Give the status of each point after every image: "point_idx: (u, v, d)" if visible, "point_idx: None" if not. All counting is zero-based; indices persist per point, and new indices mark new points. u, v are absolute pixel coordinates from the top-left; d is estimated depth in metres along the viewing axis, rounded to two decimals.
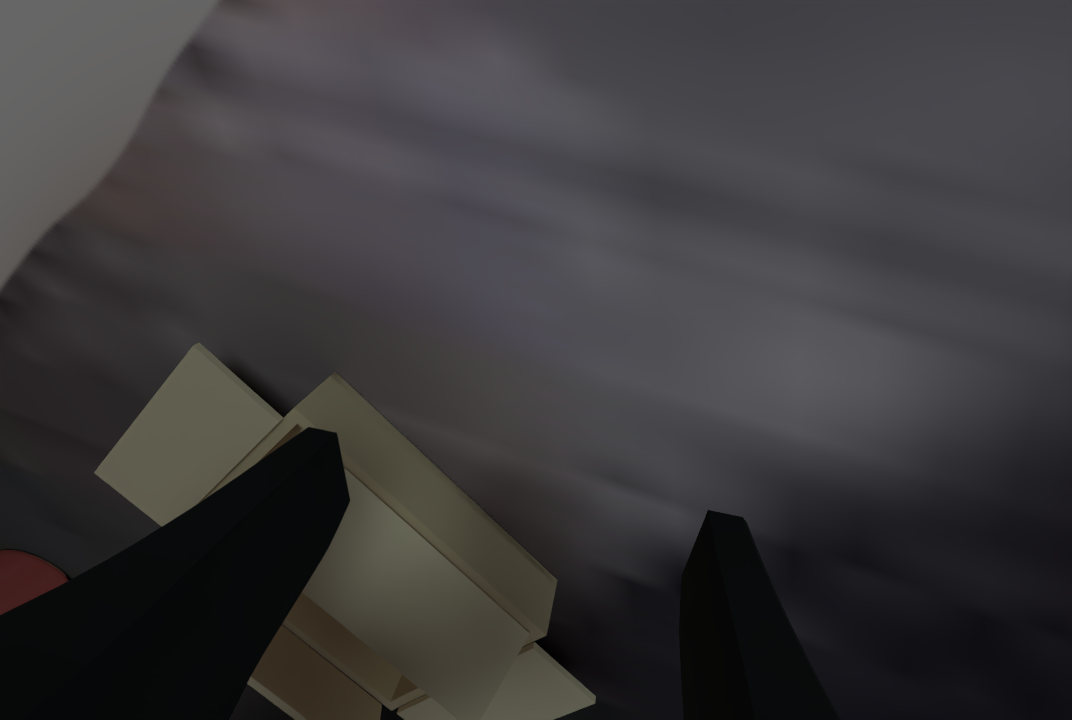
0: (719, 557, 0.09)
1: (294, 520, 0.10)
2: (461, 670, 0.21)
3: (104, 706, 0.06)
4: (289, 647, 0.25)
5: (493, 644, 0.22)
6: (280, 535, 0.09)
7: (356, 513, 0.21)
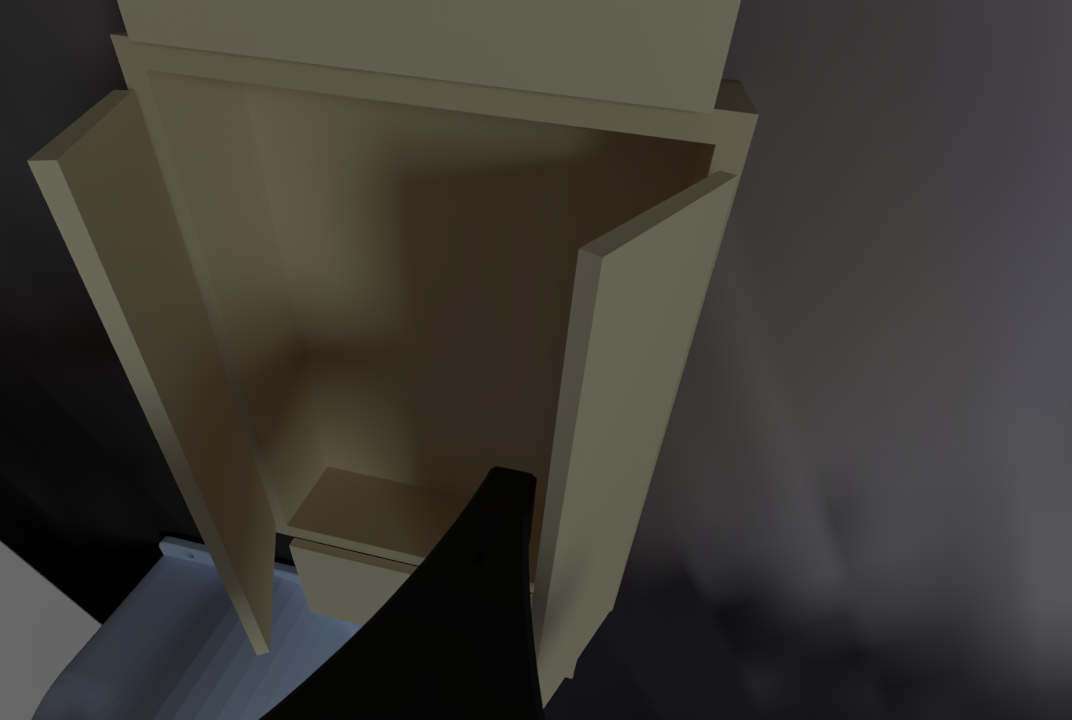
0: (485, 506, 0.09)
1: None
2: (565, 653, 0.13)
3: None
4: (225, 409, 0.13)
5: (593, 620, 0.14)
6: None
7: (661, 385, 0.10)
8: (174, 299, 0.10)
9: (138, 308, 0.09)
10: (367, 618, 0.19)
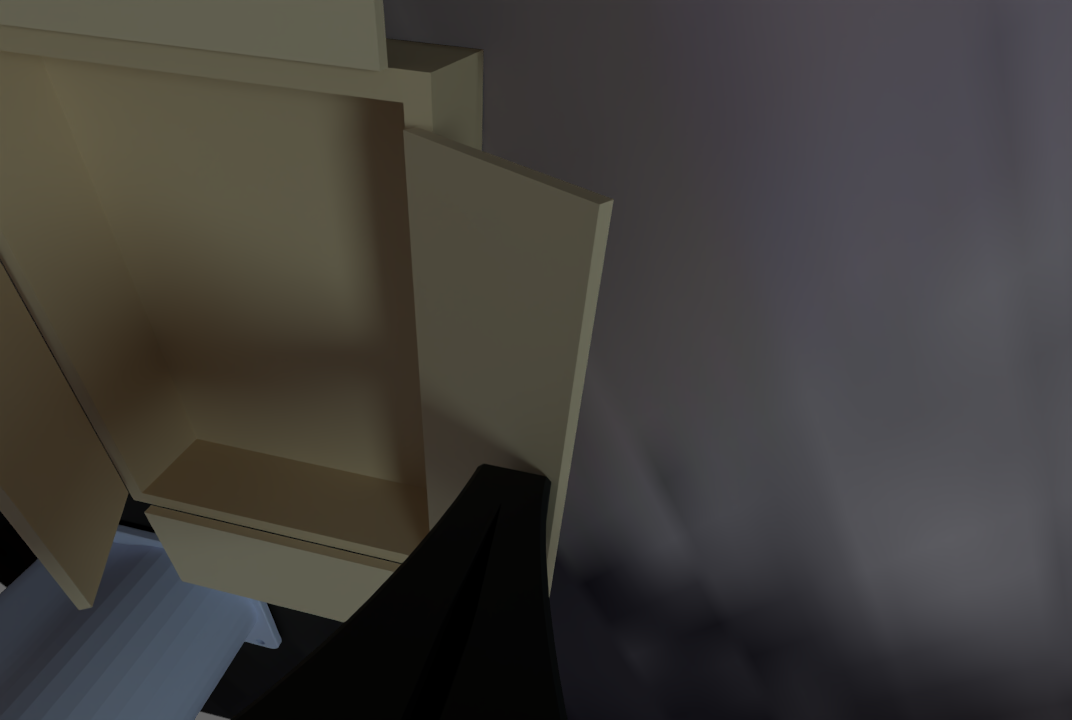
0: (501, 510, 0.09)
1: None
2: None
3: None
4: (34, 370, 0.14)
5: None
6: (479, 582, 0.09)
7: None
8: None
9: None
10: (233, 585, 0.20)
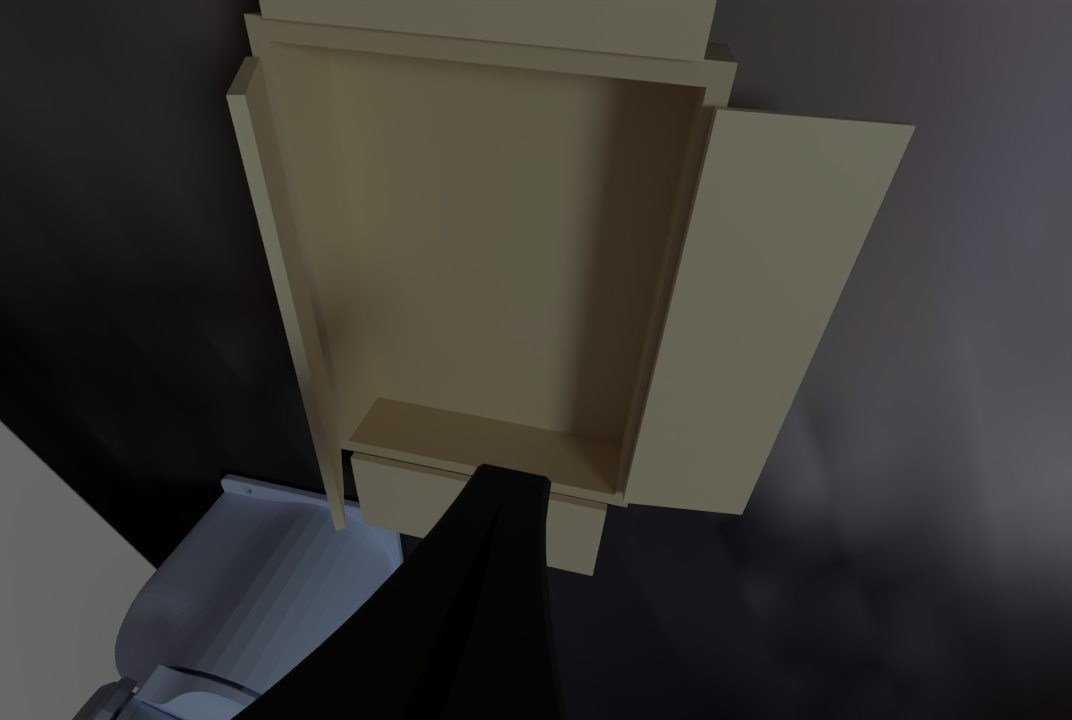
0: (501, 510, 0.09)
1: (487, 565, 0.09)
2: None
3: None
4: (312, 322, 0.16)
5: None
6: (479, 581, 0.09)
7: None
8: (287, 221, 0.13)
9: (276, 216, 0.12)
10: (414, 526, 0.22)
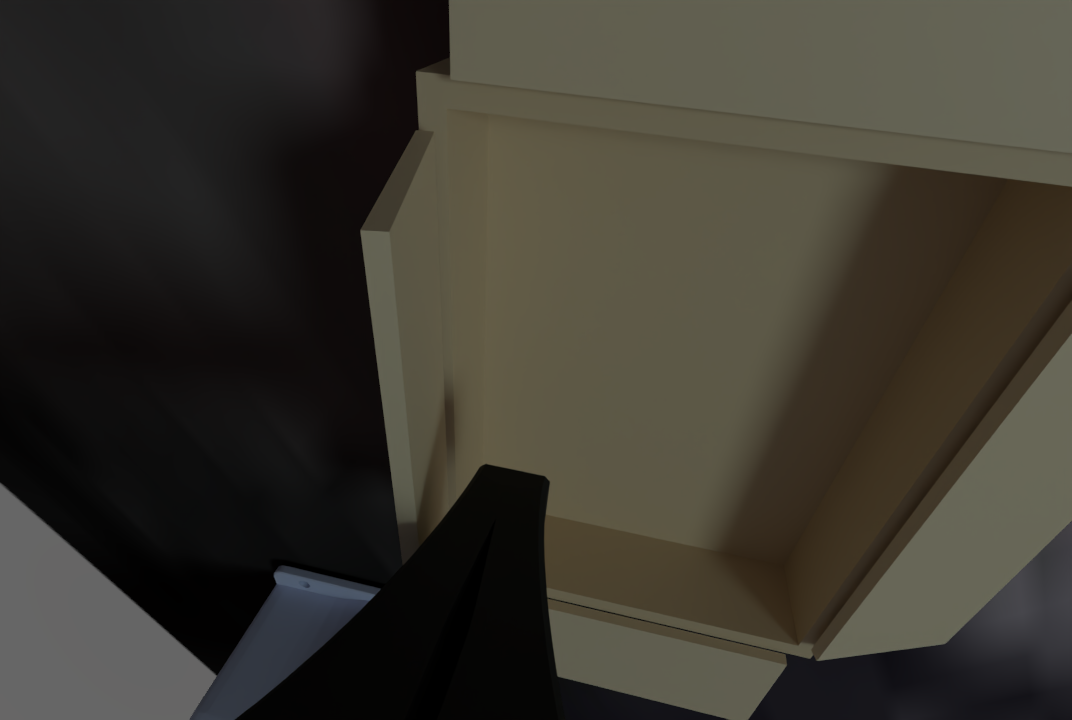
0: (500, 509, 0.09)
1: None
2: None
3: None
4: (441, 461, 0.12)
5: None
6: None
7: None
8: (430, 356, 0.10)
9: (412, 381, 0.08)
10: None
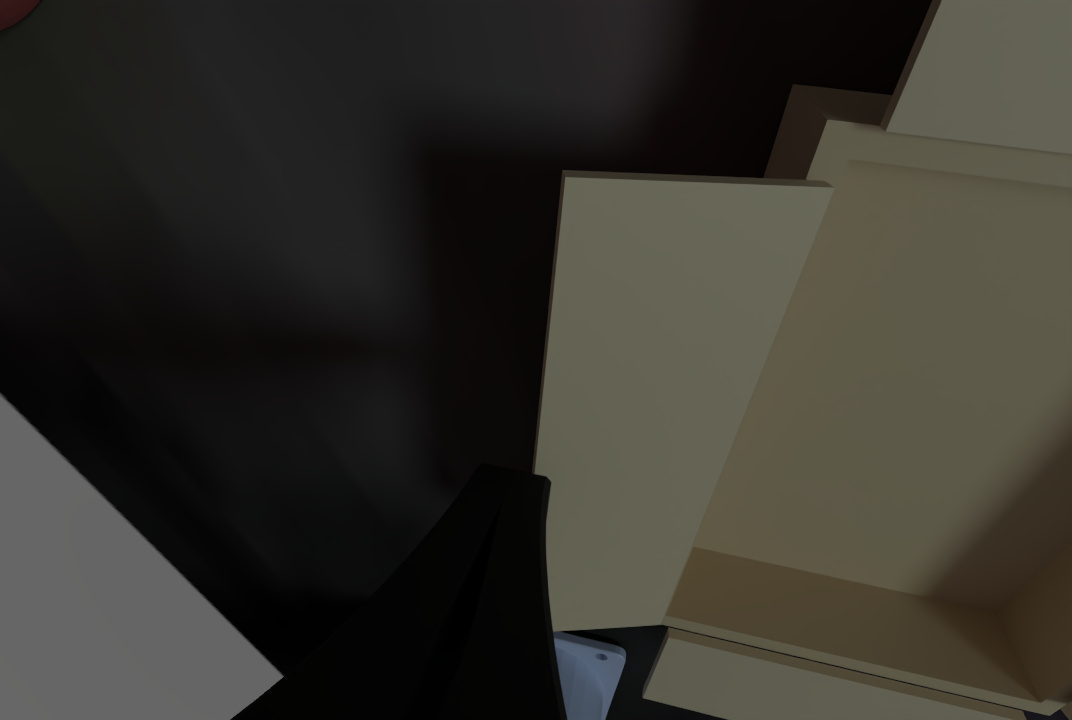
0: (501, 510, 0.09)
1: (487, 565, 0.09)
2: None
3: None
4: (670, 492, 0.12)
5: None
6: (479, 582, 0.09)
7: None
8: (673, 367, 0.10)
9: (584, 327, 0.09)
10: (716, 707, 0.18)
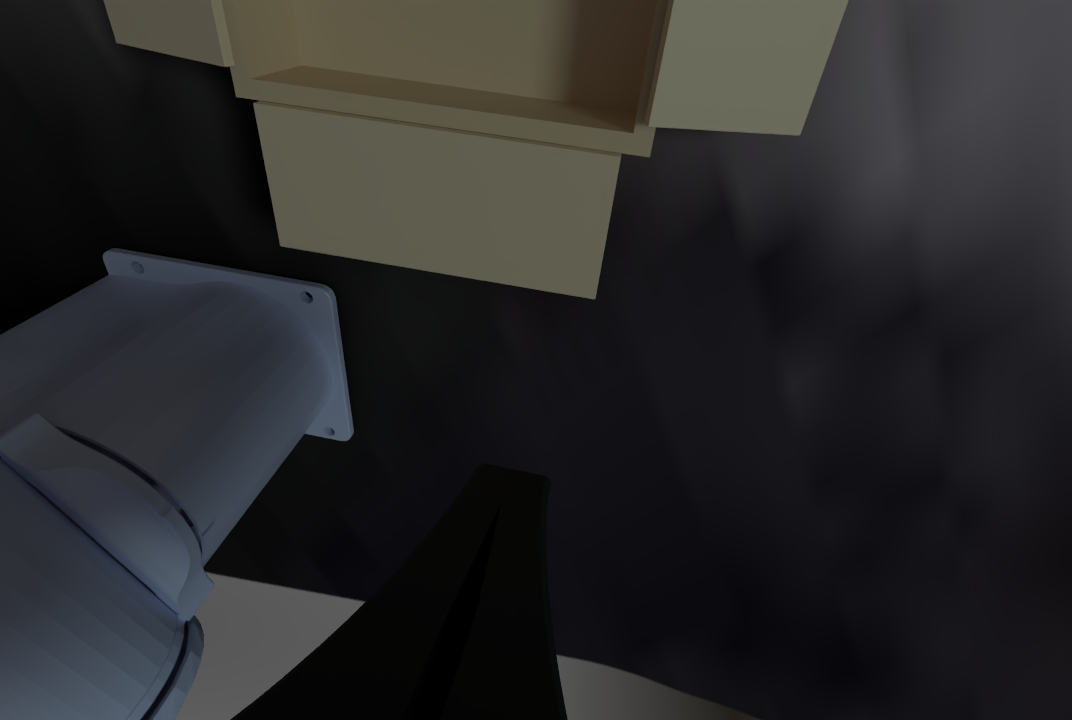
0: (501, 510, 0.09)
1: (487, 565, 0.09)
2: None
3: None
4: None
5: None
6: (479, 582, 0.09)
7: None
8: None
9: None
10: (349, 239, 0.16)
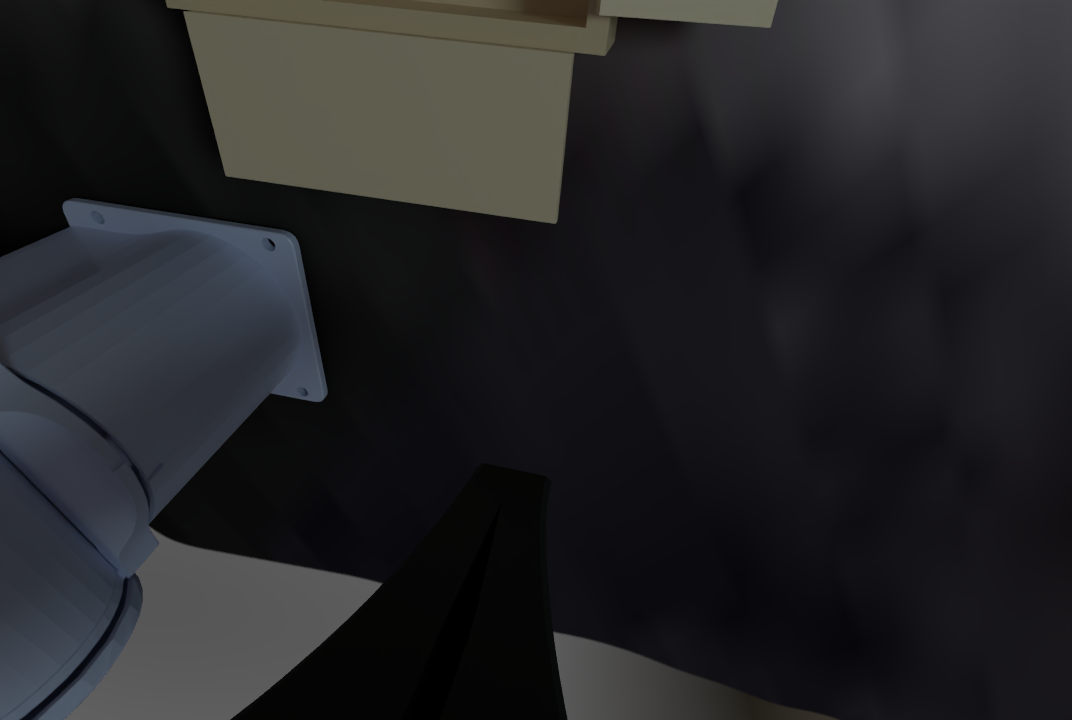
0: (501, 510, 0.09)
1: None
2: None
3: None
4: None
5: None
6: (479, 582, 0.09)
7: None
8: None
9: None
10: (295, 164, 0.15)
